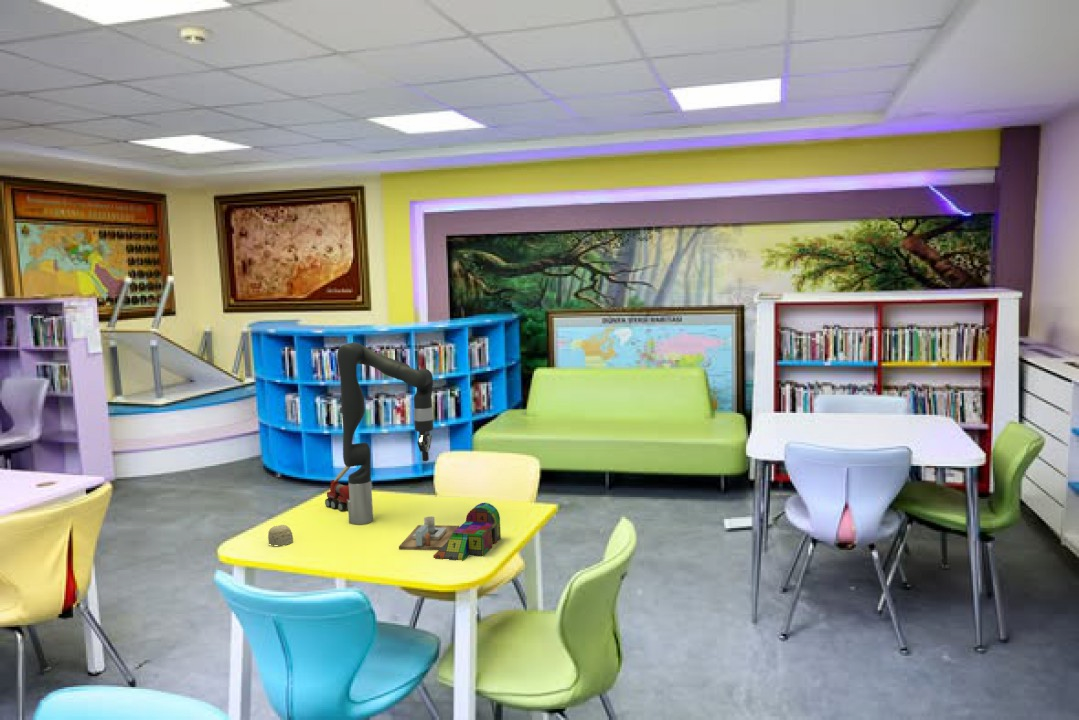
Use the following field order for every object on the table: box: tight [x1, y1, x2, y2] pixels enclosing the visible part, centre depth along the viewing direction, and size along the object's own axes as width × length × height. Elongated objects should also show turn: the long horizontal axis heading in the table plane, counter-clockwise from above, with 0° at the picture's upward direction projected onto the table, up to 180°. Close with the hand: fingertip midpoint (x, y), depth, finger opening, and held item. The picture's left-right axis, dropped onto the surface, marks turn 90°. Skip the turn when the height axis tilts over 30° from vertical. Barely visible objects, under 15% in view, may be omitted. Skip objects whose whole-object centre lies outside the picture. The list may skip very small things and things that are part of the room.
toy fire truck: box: [324, 465, 351, 512], centre depth 350 cm, size 11×16×18 cm
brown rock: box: [267, 524, 294, 547], centre depth 304 cm, size 9×10×10 cm
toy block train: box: [432, 502, 502, 562], centre depth 290 cm, size 25×17×14 cm
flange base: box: [398, 516, 460, 551], centre depth 303 cm, size 17×25×8 cm
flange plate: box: [412, 524, 447, 546], centre depth 299 cm, size 18×10×6 cm, turn 169°
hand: (425, 460), depth 317 cm, fingers closed
